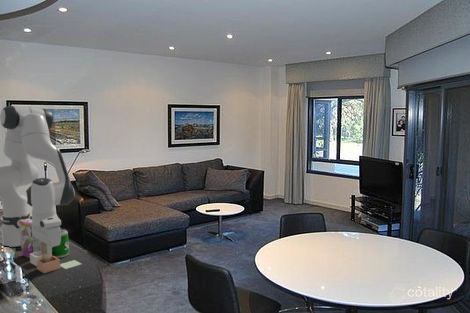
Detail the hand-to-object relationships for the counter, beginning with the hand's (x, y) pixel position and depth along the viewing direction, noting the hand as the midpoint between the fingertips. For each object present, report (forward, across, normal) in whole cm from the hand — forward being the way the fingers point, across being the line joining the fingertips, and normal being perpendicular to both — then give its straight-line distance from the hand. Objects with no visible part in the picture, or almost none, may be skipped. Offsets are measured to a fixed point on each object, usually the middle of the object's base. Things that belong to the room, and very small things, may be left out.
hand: (46, 251), depth 166 cm
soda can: (+8, -12, +10) cm, 17 cm away
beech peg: (+6, 0, 0) cm, 6 cm away
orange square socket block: (+8, 0, 0) cm, 8 cm away
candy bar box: (+8, -21, +2) cm, 23 cm away
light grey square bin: (+8, -10, +1) cm, 12 cm away
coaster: (+8, +2, +8) cm, 12 cm away
